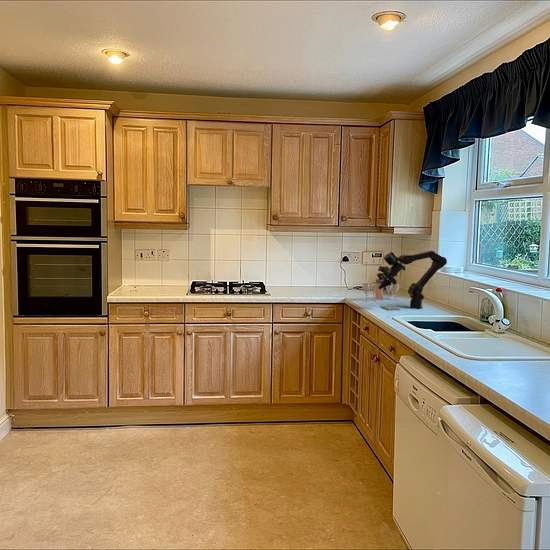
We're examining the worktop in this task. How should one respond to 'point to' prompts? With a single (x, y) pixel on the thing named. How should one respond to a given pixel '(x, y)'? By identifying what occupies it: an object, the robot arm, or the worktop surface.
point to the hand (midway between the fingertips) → (377, 288)
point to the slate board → (390, 307)
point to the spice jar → (379, 291)
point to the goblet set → (395, 287)
